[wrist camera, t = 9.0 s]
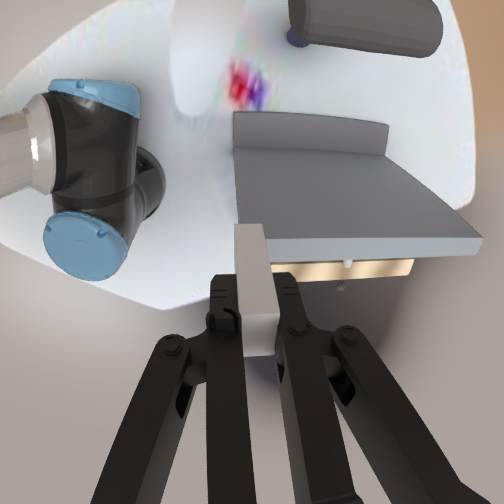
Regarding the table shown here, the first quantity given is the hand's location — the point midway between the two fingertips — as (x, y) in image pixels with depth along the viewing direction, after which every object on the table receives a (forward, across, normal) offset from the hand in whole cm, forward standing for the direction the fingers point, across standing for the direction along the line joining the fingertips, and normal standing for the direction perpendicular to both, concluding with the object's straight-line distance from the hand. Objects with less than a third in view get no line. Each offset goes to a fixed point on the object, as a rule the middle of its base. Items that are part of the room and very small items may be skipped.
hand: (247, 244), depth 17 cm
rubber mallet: (+37, +10, +16) cm, 41 cm away
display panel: (+36, +14, -5) cm, 39 cm away
